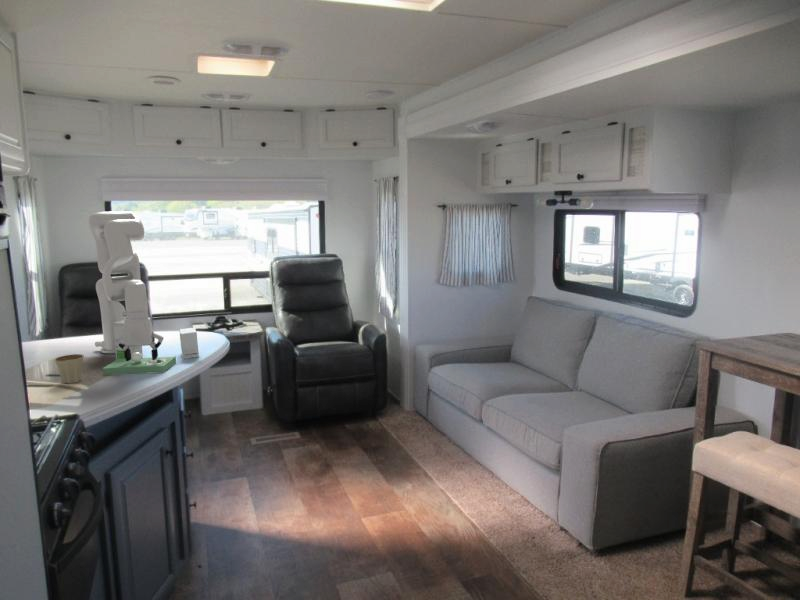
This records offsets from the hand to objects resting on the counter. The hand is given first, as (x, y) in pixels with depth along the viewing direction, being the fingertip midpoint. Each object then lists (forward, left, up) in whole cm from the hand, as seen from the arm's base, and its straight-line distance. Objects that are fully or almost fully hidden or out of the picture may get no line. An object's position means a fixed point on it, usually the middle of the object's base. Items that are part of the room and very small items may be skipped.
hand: (141, 359), depth 232 cm
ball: (-2, 0, +1) cm, 2 cm away
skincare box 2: (+12, +19, -4) cm, 23 cm away
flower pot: (-20, -14, -4) cm, 24 cm away
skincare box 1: (-11, +16, -4) cm, 20 cm away
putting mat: (-1, 0, -3) cm, 3 cm away
